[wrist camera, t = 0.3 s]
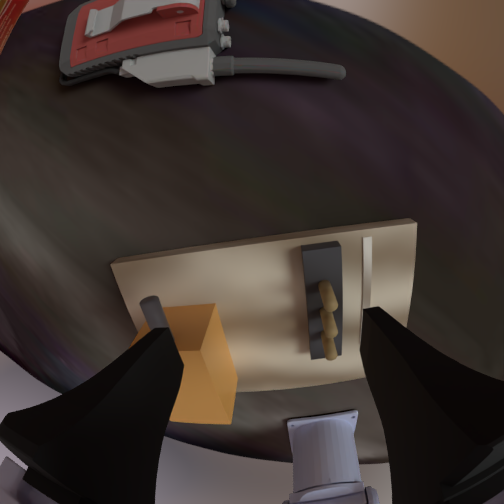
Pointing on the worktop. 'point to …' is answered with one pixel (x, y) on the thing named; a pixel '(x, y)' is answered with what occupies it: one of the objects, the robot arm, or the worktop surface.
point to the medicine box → (9, 17)
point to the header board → (285, 296)
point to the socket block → (196, 360)
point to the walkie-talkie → (163, 44)
